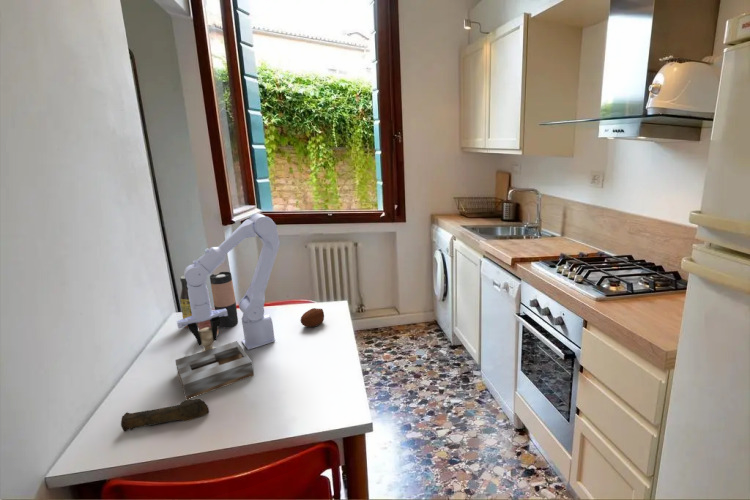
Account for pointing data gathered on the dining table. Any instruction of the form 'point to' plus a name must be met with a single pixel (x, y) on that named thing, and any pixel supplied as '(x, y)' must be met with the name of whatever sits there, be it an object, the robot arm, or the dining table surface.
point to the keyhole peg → (206, 338)
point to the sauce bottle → (185, 300)
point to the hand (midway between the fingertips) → (207, 341)
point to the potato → (312, 317)
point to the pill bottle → (205, 324)
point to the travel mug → (224, 298)
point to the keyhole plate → (213, 369)
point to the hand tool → (165, 414)
